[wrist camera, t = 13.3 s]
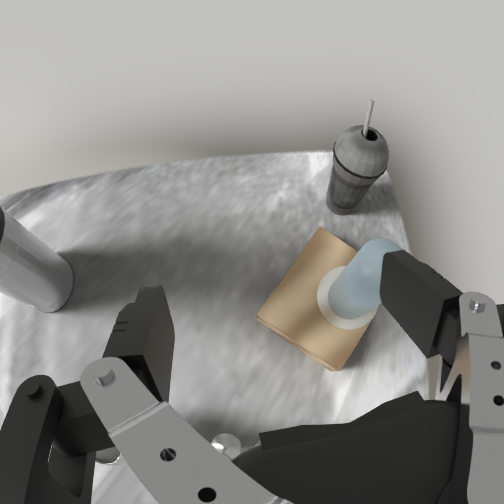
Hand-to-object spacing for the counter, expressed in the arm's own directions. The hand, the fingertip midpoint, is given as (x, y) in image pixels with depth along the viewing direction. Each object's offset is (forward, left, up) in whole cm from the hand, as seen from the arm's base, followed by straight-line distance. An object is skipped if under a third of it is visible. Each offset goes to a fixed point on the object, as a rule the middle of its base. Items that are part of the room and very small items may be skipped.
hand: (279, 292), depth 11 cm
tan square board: (+3, +10, -30) cm, 32 cm away
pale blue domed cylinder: (+5, +11, -25) cm, 28 cm away
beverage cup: (-3, +25, -30) cm, 39 cm away
